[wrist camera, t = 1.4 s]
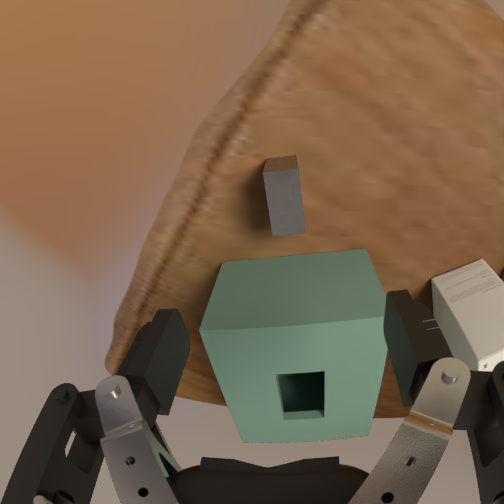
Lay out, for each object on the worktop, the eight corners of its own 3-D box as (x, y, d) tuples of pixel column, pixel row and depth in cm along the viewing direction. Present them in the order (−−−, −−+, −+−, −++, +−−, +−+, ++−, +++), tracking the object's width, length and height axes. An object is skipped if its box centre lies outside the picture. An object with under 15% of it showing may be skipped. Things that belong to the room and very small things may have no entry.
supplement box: (432, 324, 33) (467, 407, 22) (429, 276, 30) (477, 361, 19) (481, 305, 31) (525, 378, 20) (484, 256, 28) (543, 328, 17)
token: (295, 155, 26) (298, 168, 21) (302, 209, 28) (305, 233, 24) (266, 158, 26) (262, 172, 22) (274, 212, 28) (272, 236, 24)
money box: (365, 248, 29) (393, 315, 20) (357, 370, 37) (368, 435, 28) (222, 261, 31) (198, 330, 22) (251, 378, 39) (243, 442, 31)
